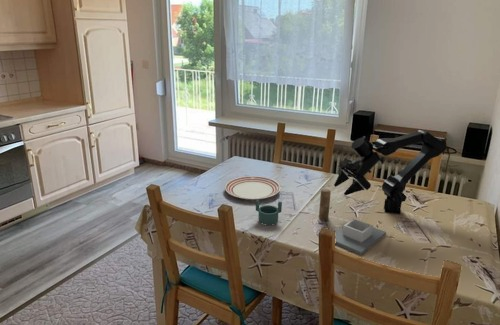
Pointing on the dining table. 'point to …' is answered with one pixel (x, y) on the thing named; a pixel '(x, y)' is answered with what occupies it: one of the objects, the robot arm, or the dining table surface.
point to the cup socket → (358, 236)
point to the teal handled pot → (268, 213)
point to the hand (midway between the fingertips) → (339, 190)
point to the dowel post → (324, 204)
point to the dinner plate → (252, 187)
